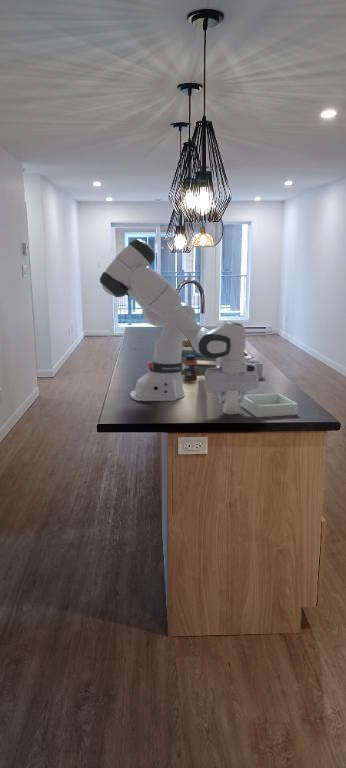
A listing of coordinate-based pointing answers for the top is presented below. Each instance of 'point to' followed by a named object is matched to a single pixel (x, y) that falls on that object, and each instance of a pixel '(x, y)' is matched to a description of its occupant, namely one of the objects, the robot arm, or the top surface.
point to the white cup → (231, 402)
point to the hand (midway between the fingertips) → (230, 402)
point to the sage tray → (269, 405)
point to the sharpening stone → (197, 357)
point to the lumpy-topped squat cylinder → (256, 363)
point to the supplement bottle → (190, 368)
